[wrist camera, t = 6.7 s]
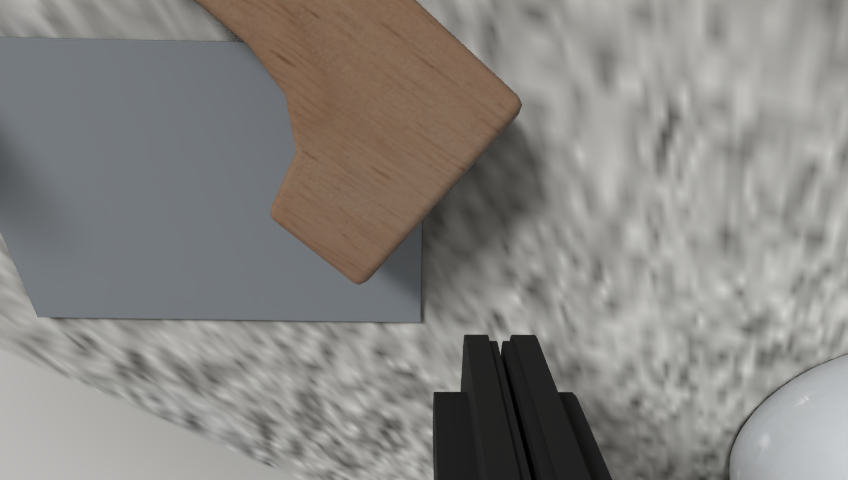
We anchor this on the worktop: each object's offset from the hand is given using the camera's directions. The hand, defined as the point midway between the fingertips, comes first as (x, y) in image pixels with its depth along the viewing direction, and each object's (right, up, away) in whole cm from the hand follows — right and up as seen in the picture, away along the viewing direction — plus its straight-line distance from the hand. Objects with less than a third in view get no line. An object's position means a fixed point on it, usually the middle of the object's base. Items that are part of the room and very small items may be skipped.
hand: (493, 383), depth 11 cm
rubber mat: (-12, +6, +11) cm, 17 cm away
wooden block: (-1, +5, +7) cm, 9 cm away
